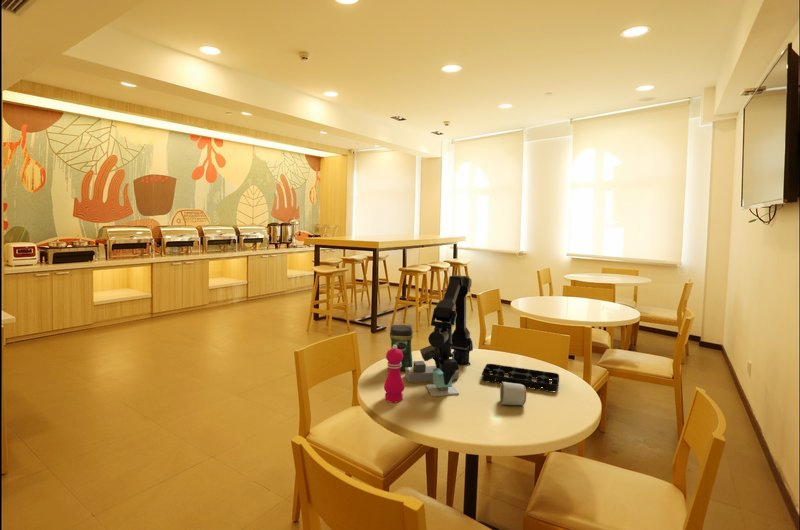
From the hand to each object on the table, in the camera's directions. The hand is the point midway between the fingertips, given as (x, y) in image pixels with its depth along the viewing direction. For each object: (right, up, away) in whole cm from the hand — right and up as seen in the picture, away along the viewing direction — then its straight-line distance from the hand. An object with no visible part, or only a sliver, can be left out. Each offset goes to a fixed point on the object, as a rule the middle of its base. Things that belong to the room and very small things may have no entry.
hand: (442, 379), depth 170 cm
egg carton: (+31, -4, +10) cm, 33 cm away
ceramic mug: (+23, -6, -8) cm, 26 cm away
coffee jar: (-15, -1, +22) cm, 27 cm away
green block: (0, -4, +1) cm, 4 cm away
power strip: (-3, -2, +12) cm, 13 cm away
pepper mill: (-18, -5, -7) cm, 20 cm away
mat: (0, -4, +1) cm, 4 cm away
